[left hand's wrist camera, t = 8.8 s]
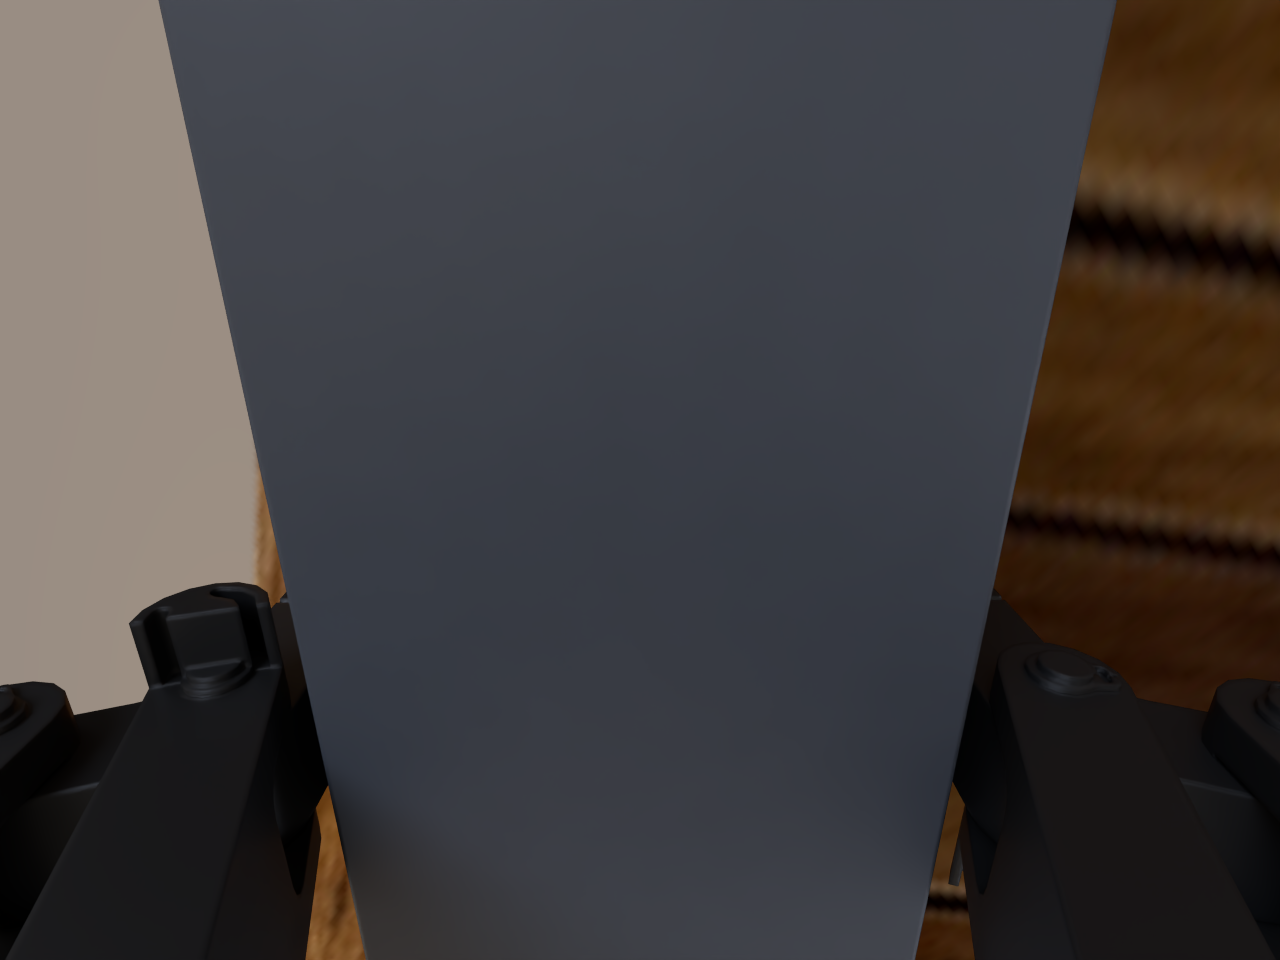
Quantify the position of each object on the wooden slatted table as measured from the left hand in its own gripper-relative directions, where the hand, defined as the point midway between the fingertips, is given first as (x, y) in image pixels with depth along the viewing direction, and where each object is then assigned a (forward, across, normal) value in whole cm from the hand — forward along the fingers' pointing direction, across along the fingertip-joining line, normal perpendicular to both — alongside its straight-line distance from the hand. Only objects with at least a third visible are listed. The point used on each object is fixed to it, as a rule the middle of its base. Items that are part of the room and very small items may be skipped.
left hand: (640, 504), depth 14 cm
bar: (+1, 0, -22) cm, 23 cm away
